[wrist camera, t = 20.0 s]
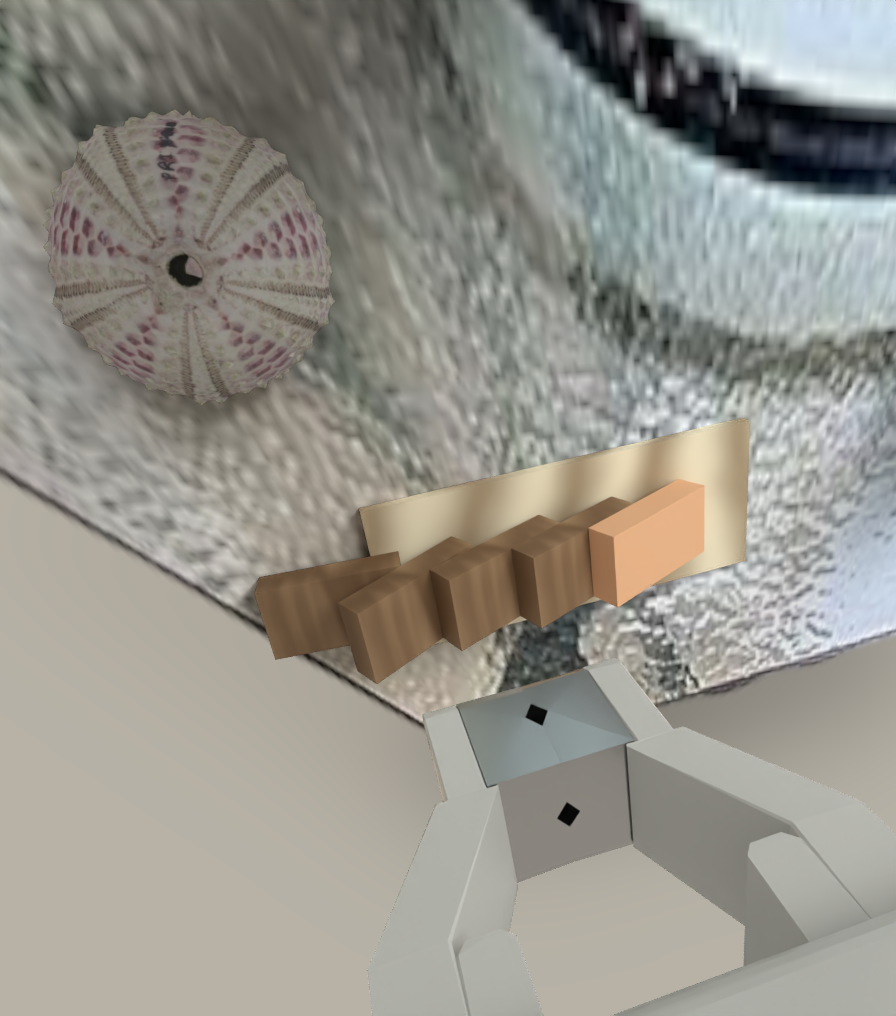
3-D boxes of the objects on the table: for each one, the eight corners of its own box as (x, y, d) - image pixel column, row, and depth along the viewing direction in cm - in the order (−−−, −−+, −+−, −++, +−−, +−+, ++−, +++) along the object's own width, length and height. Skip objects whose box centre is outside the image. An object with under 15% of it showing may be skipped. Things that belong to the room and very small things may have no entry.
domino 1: (399, 565, 41) (254, 593, 40) (413, 632, 43) (275, 659, 42) (398, 550, 43) (259, 577, 42) (411, 615, 45) (279, 641, 44)
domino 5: (704, 485, 44) (613, 537, 40) (704, 551, 46) (617, 607, 42) (678, 479, 46) (588, 527, 41) (679, 542, 48) (593, 596, 43)
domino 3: (560, 522, 43) (449, 580, 38) (566, 588, 45) (461, 650, 40) (538, 514, 44) (429, 569, 40) (546, 578, 46) (442, 637, 42)
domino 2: (472, 544, 42) (357, 614, 37) (484, 609, 44) (376, 684, 39) (451, 536, 43) (337, 602, 38) (463, 599, 45) (357, 670, 40)
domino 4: (634, 503, 43) (533, 558, 39) (638, 569, 45) (541, 628, 41) (611, 496, 45) (511, 548, 41) (615, 560, 47) (520, 615, 43)
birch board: (742, 417, 46) (749, 420, 45) (738, 556, 50) (745, 560, 50) (358, 508, 42) (360, 513, 41) (391, 649, 47) (393, 655, 46)
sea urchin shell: (10, 284, 33) (-67, 298, 26) (157, 49, 31) (118, -7, 24) (240, 434, 39) (229, 480, 32) (381, 242, 37) (404, 244, 29)
